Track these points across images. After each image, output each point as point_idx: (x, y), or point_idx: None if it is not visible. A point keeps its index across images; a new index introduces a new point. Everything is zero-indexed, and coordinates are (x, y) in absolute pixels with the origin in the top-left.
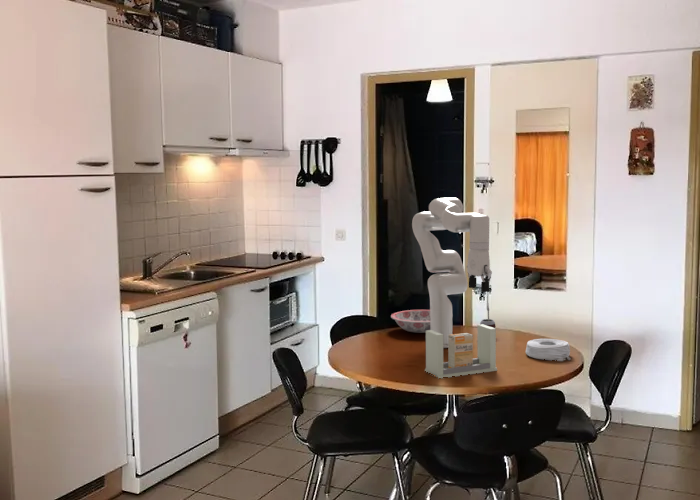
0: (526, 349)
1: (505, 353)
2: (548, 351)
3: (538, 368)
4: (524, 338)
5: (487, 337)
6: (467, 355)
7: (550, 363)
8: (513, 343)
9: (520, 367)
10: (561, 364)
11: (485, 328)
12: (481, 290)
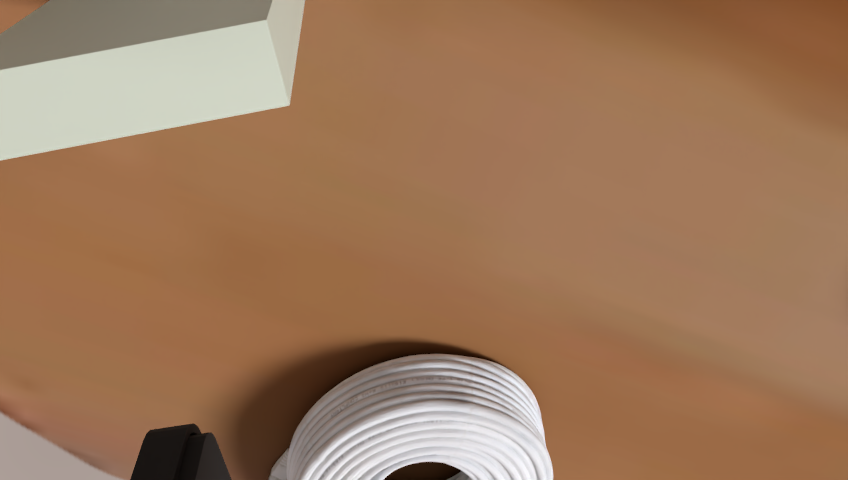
0: (466, 375)
1: (556, 256)
2: (301, 454)
3: (130, 307)
4: (820, 458)
5: (48, 33)
6: None
7: (240, 401)
8: (756, 376)
9: (172, 216)
10: None
11: (56, 56)
12: (172, 450)
